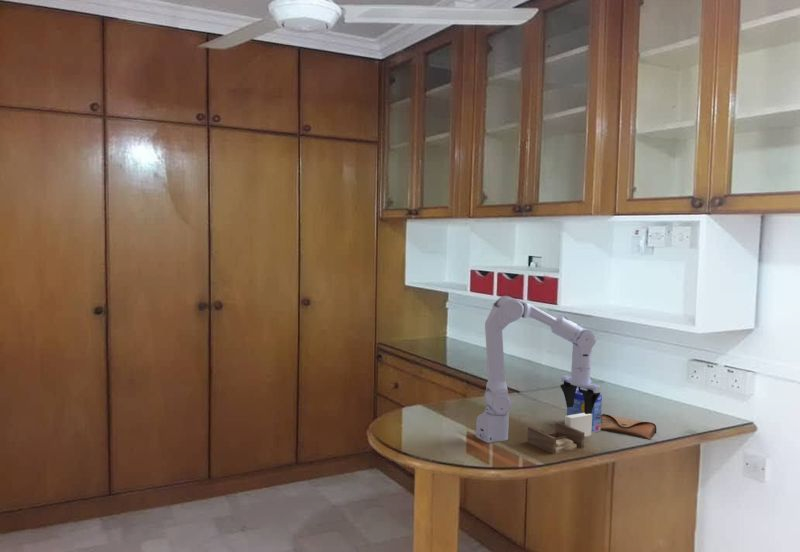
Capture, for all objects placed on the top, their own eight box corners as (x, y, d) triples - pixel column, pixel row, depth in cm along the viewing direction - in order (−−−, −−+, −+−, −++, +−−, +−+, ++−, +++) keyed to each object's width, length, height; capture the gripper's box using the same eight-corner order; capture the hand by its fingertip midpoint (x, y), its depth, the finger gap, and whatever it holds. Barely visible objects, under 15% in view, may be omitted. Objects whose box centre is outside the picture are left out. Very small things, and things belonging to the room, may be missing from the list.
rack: (552, 457, 182) (553, 438, 181) (527, 445, 191) (528, 427, 191) (583, 450, 187) (584, 432, 187) (557, 439, 197) (558, 422, 196)
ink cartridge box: (565, 427, 210) (567, 383, 208) (573, 423, 214) (575, 381, 212) (592, 434, 203) (595, 389, 202) (600, 430, 207) (603, 386, 206)
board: (569, 440, 194) (570, 418, 194) (563, 438, 197) (565, 415, 196) (591, 436, 199) (592, 414, 198) (585, 434, 201) (586, 412, 200)
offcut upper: (557, 447, 184) (557, 444, 184) (550, 444, 187) (550, 440, 186) (573, 444, 187) (573, 441, 187) (565, 441, 190) (566, 437, 189)
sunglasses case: (594, 429, 208) (597, 409, 210) (597, 434, 213) (601, 415, 216) (652, 440, 199) (655, 419, 201) (654, 445, 204) (657, 425, 207)
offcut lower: (555, 451, 183) (556, 448, 183) (547, 447, 186) (547, 444, 186) (576, 447, 187) (576, 444, 187) (567, 443, 190) (567, 440, 190)
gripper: (608, 370, 191) (606, 415, 193) (573, 361, 204) (571, 402, 205) (591, 373, 188) (589, 417, 189) (557, 362, 201) (555, 405, 202)
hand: (578, 410), depth 197 cm, fingers open, 7 cm apart
